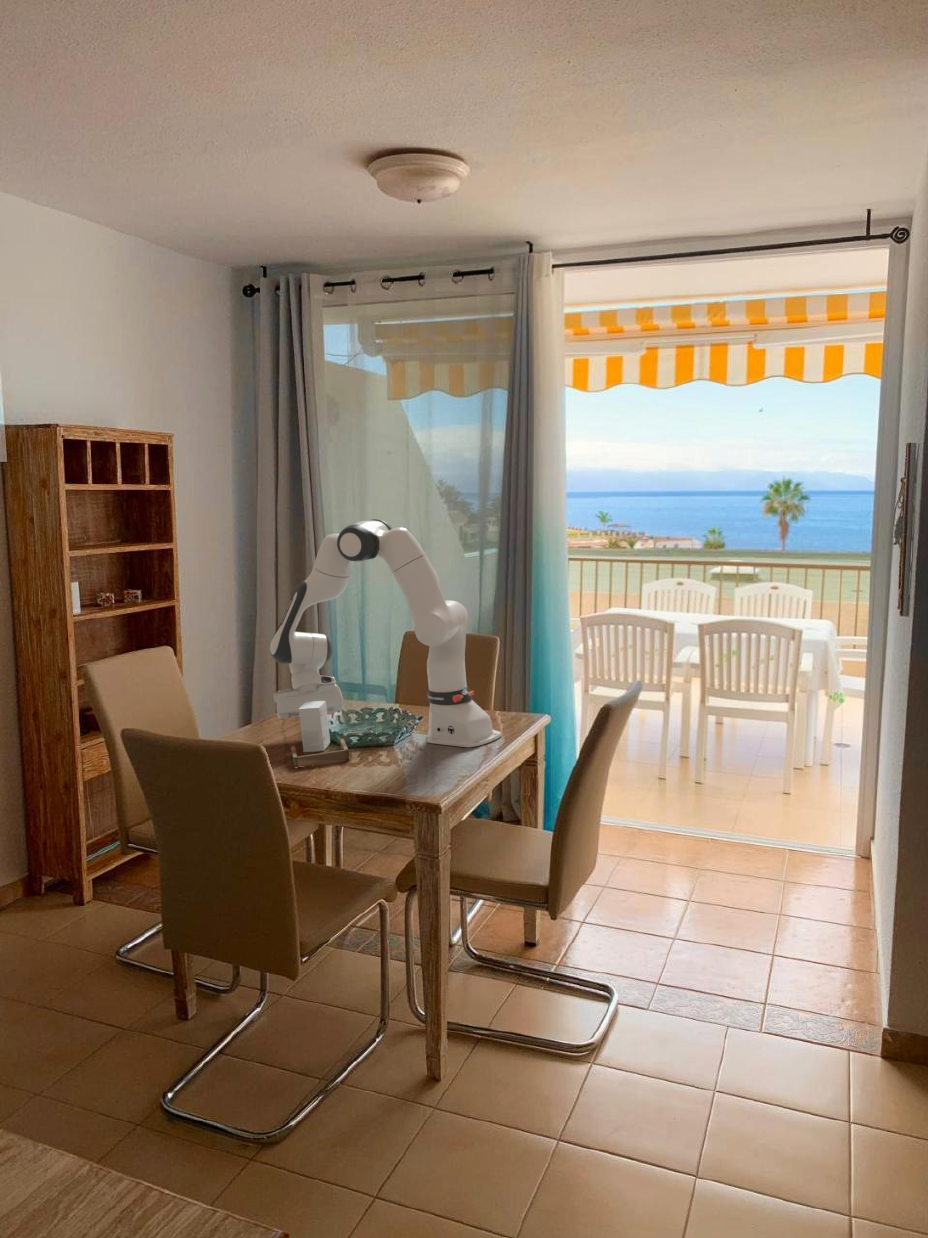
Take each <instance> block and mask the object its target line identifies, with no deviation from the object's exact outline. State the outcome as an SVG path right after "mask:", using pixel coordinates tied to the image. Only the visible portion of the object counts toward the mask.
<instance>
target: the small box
mask: <svg viewBox="0 0 928 1238" xmlns="http://www.w3.org/2000/svg"><path fill="white" fill-rule="evenodd" d="M298 711H299V716H298V717H299V725H300V732H301V733H300V734H301V741H302V742H301V743H302V749H303V750H302V751H303V753H310V752H313V753H314V752H324V751H325V750H326V748H327V747H328V746H329V745H330V743H331V737H330V730H329V728H330V727H329V719H328V712H327V709H326V701H312V702H305V703H304V704H303V705H302V706H301V707H300V708H299V709H298Z"/></svg>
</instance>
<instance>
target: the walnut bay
mask: <svg viewBox="0 0 928 1238" xmlns="http://www.w3.org/2000/svg"><path fill="white" fill-rule="evenodd" d="M339 741H340V750H333V751H325V752H319V753H318V752H317V753H313V754H306V755H300V756H298V755H297V750H296V745H295V744H294V745H290V749H291V758H292V757H293V758H292V761H293V766H295V767H299V766H310V767H313V766H312V765H317V766H323V765H329V764H336V763H341V762H346V761H350V754H349V749H348V745H347V744H346V741H345V739H344V738H343V737H342V738H339ZM295 767H294V768H295Z"/></svg>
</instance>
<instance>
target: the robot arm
mask: <svg viewBox="0 0 928 1238" xmlns="http://www.w3.org/2000/svg"><path fill="white" fill-rule="evenodd" d="M376 557H378V558H380V559H383V560H384V562H385V563H386V564H387V566H388V568H389V570H390V572H391V573H392V575H393V577H394V578H395V580H396V583H397V585H398V586H399V588H400V590H401V591H402V594H403V595H404V598H405V601H406V602H407V605H408V608H409V612H410V614H411V617H412V620H413V624H414V627H413V629H414V634H415V637H416V638H417V640H418V641H419V642H420V643H422V644H423V645H425V646H427V647H429V649H428V657H427V661H426V673H427V682H428V689H427V698H428V699H427V701H428V703H429V713H428V732H427V739H426V740H427V741H426V742H427V743H428V744H437V745H442V746H443V745H445V746H453V747H461V748H462V747H463V748H473V747H478V746H483V745H486V744H489V743H491V742H494V741H496V740H497V739H499V738H500V737H501V736H502V732H501V731H498V730H495V729H494V728H493V724H492V720H491V717H490V715H489V714H488V713H487V712H486V711H484V710H483V708H481V706H479V704H477V703H476V702H475V701H474V700H473V695H475V693H474V692H475V690H470V688H469V686H468V685H467V677H466V676H467V675H466V674H467V673H466V661H465V659H466V658H465V657H466V656H465V655H466V642H467V624H468V620H469V614H468V611H467V609H466V607H465V606H464V605H463V604H462V603H461V602H459V601H456V600H452V599H451V600H450V599H449V600H448V599H445V598H444V594H443V593H442V592H443V591H442V589H441V584H440V578H439V576H438V574H437V572H436V570H435V569H434V567H433V565H432V563H431V561H430V560H429V558H428V555H427V554H426V553H425V551H424V549H423V548H422V545H420V543H419V542H418V540H417V539H416V538H415V536H414V535H413V534H412V533H411V532H410V531H409V530H408V529H407V528H405V527H400V526H399V527H392V526H391V525H390V524H389V523H387V522H386V521H384V520H381V519H369V520H361V521H357V522H356V523H353V524H349V525H347V526H346V527H344V528H343V529H342V530H341V531H340V532H339V533H330V534H328V535H326V536H325V537H324V538H323V540H322V542H321V543H320V547H319V548H318V551H317V554H316V558H315V561H314V565H313V568H312V570H311V573H310V574H309V576H307V578H306V579H305V580H303V581H301V582H300V583H298V585H297V586H296V588H295V590H294V591H293V594H292V595H291V598H290V600H289V603H288V605H287V607H286V610H285V611H284V614H283V616H282V618H281V621H280V623H279V625H278V627H277V629H276V631H275V632H274V634H273V636H272V638H271V641H270V645H269V652H270V655H271V658H273V660H275V661H276V662H277V663H278V664H280V665H281V664H282V665H283V664H285V665H287V664H288V667H289V671H290V674H291V679H290V680H291V686H292V687H291V688H286V689H279V690H277V691H276V692H275V693H273V702H274V703H275V704H276V715H277V718H278V719H280V720H283V719H288V718H296V717H299V711H298V709H299V708H300V707H301V706H302V705H303V704H304V703H305V702H312V701H326V709H327V713H333V712H338V711H339V712H340V711H342V710H343V709H344V708H345V701H344V697H343V694H342V691H341V688H340V687H339V686H338V685H337V680H336V678H335V677H334V676H328V675H321V674H320V671H319V670H320V669H322V668H323V667H324V666H326V665H327V663H329V662H330V661H331V658H332V656H333V647H332V643H331V640H330V639H329V636H328V635H326V634H325V633H316V632H305V631H304V632H303V631H296V629H297V627H298V625H299V622H300V621H301V618H302V615H303V614H304V612H305V610H306V609H308V608H309V607H312V606H313V605H316V604H319V603H323V602H327V601H331V600H334V599H337V598H338V597H340V596H341V595H342V594H344V592H345V591H346V588H347V586H348V585H349V581H350V577H351V574H352V573H351V572H352V569H353V565H354V563H355V562H364V561H367V560H373V559H375V558H376Z"/></svg>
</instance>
